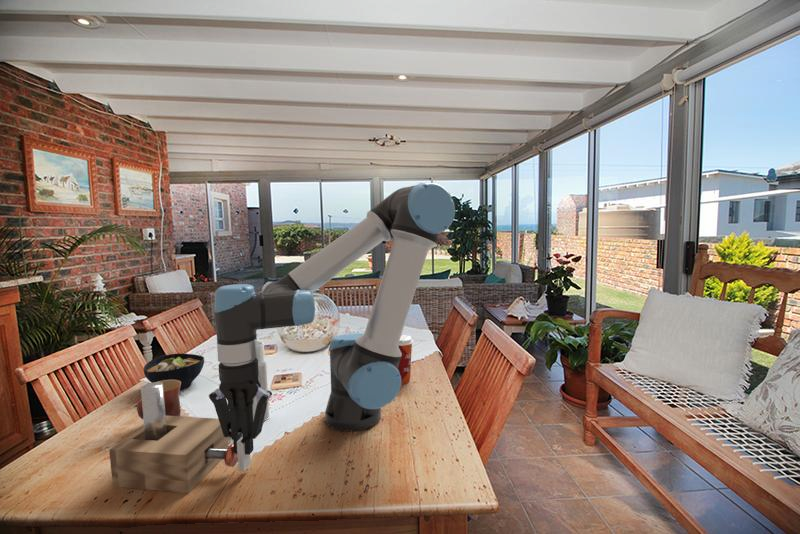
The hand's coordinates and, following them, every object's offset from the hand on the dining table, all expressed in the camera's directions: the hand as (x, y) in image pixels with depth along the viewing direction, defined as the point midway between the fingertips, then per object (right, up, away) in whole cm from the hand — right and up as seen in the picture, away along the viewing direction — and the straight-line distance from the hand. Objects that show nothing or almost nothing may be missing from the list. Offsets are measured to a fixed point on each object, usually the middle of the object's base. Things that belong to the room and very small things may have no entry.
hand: (244, 467), depth 81 cm
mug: (-31, 0, +20) cm, 37 cm away
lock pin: (-9, 0, +1) cm, 9 cm away
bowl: (-41, +3, +45) cm, 60 cm away
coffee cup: (+33, +4, +48) cm, 59 cm away
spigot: (-20, +3, +2) cm, 21 cm away
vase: (-7, +1, +24) cm, 25 cm away
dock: (-17, -1, +2) cm, 17 cm away
